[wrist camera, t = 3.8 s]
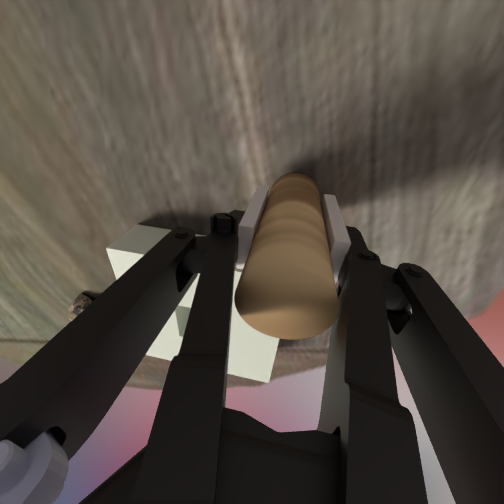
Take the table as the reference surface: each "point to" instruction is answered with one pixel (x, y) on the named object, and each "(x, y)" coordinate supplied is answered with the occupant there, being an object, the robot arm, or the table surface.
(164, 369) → the table surface
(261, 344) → the socket block
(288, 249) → the dowel
